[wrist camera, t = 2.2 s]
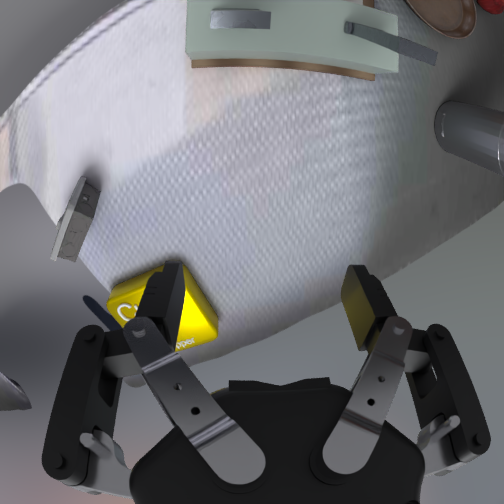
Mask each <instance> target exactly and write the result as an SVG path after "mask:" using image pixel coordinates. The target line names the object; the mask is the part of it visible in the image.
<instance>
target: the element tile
mask: <svg viewBox="0 0 504 504" xmlns="http://www.w3.org/2000/svg"><path fill="white" fill-rule="evenodd" d="M182 265H183V264H182ZM163 268H164V265H162V266H160V267H158V268H155V269H153V270H151V271H148V272H146V273H143V274H141V275H139V276H136V277H134V278H132V279H129V280H127V281H125V282H122V283H120V284H118V285H116V286H115V287H114V288H113V289H112V292H111V294H110V296H109V298H108V300H107V304H106V306H107V309H108V311H109V312H110V313H111V314H112V316H113V317H114V318H115V319H116V320H117V322H118V323H119V324H120V325H121V326H122V327H124V325H125V324H126V323H127V322H128V321H129V320H131V319H133V318H134V317H135V315H136V312H137V309H138V306H139V303H140V300H141V298H142V295H143V292H144V289H145V288H146V284H147V281H148V279H149V278H150V277H151V276H152V274H153V273H154V272H162V271H163ZM183 273H184V280H185V288H186V294H185V302H184V307H183V311H182V316H181V322H180V327H179V332H178V337H177V343H176V348H175V352H177V351H181V350H184V349H188V348H191V347H195V346H198V345H201V344H205V343H208V342H211V341H213V340H215V339H216V338H217V337H218V316H217V314H216V313H215V311H214V310H213V308H212V307H211V305H210V304H209V302H208V301H207V299H206V297H205V296H204V294H203V293H202V291H201V290H200V288H199V286H198V285H197V283H196V282H195V280H194V278H193V277H192V275H191V273H190V272H189V270H188V269H187V267H186V266H185V265H183Z"/></svg>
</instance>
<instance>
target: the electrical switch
mask: <svg viewBox="0 0 504 504" xmlns="http://www.w3.org/2000/svg"><path fill="white" fill-rule="evenodd" d="M86 179H87V178H85V177H81V178H80V180H79V181H78V183H77V185H76V188H75V190H74V192H73V194H72V196H71V198H70V201H69V203H68V205H67V208H66V210H65V213H64V215H63V216H62V217H61V218H60V219H59V221H58V223H57V226H56V230H58V234H57V237H56V240H55V243H54V246H53V249H52V253H51V260H53V261H56V259H57V257H61V258H63V259H68V260H71V261H73V262H76V259H77V257H78V254H79V251H80V249H81V246H82V244H83V242H84V239H85V237H86V234H87V232H88V230H89V227H90V225H91V223H92V221H93V219H92V218H94V214H95V210H96V206H97V203H98V199H99V196H100V192H101V191H99V190H97V189H95V188H93V187H92V186H90V185H88V184H86V183H85V181H86ZM90 217H91V218H90Z"/></svg>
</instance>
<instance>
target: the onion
mask: <svg viewBox="0 0 504 504" xmlns="http://www.w3.org/2000/svg"><path fill="white" fill-rule="evenodd" d="M477 2H478V4H479V5H480V6H481V7H482V8H483V9H484V10H485V11H487V12H489V13H491V14H500V13H502V12H503V10H504V0H477Z"/></svg>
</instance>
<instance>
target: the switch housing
mask: <svg viewBox="0 0 504 504" xmlns="http://www.w3.org/2000/svg"><path fill="white" fill-rule="evenodd" d="M219 8H246V9H259V10H262V11H269V12H271V23H270V29H250V28H216V29H210V17H211V11H212V9H219ZM346 21H349V22H354V23H358V24H362V25H366V26H369V27H373V28H377V29H380V30H383V31H385V32H387V33H390V34H393V35H396V36H398V17H397V16H396V15H393V14H390V13H387V12H384V11H381V10H377V9H374V8H371V7H367V6H364V5H360V4H356V3H352V2H348V1H344V0H187V18H186V50H185V52H186V54H187V55H188V56H189V57H190V59H191V60H200V59H229V58H243V59H272V60H286V61H298V62H307V63H315V64H323V65H330V66H336V67H342V68H348V69H353V70H358V71H363V72H368V73H372V74H383V73H398V53H397V52H394V51H392V50H390V49H388V48H385V47H383V46H381V45H378V44H376V43H373V42H371V41H368V40H366V39H363V38H360V37H357V36H355V35H350V34H346V33H345V32H344V24H345V22H346Z"/></svg>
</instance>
